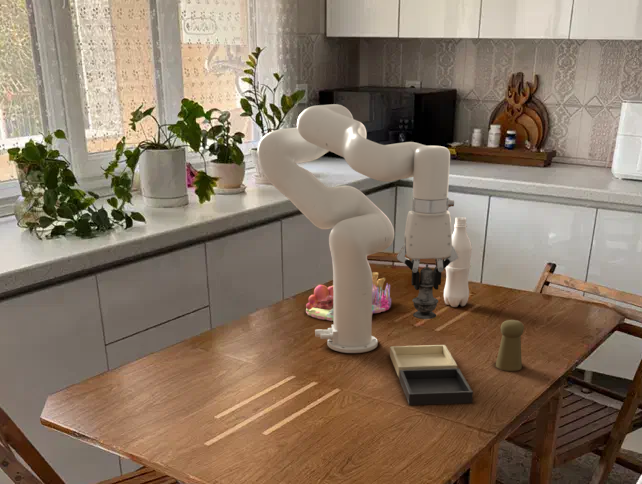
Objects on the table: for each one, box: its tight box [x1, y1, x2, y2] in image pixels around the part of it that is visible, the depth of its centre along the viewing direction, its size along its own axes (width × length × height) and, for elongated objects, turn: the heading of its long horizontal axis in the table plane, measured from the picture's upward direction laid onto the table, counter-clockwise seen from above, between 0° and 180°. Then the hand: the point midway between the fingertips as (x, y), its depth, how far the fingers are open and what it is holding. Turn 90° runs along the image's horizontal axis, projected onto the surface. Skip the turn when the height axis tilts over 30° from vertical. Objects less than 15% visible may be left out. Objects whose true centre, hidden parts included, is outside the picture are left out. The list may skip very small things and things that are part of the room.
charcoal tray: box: [398, 367, 474, 406], centre depth 169 cm, size 13×13×2 cm
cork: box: [494, 319, 525, 372], centre depth 180 cm, size 6×6×11 cm
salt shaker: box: [411, 263, 439, 320], centre depth 176 cm, size 6×6×12 cm
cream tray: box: [389, 344, 458, 378], centre depth 183 cm, size 13×13×2 cm
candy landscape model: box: [305, 271, 392, 322], centre depth 222 cm, size 25×24×9 cm
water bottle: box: [443, 216, 473, 308], centre depth 221 cm, size 7×7×25 cm
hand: (425, 287), depth 176 cm, fingers closed on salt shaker, 3 cm apart
